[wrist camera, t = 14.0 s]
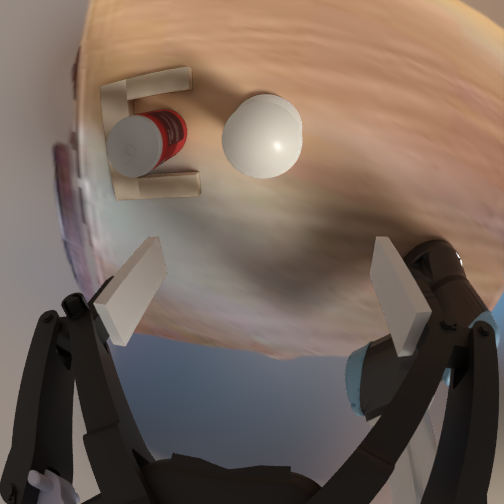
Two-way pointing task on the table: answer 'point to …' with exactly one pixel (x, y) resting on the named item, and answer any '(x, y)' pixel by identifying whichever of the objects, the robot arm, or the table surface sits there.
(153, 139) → the canned food
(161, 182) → the notched board
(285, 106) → the bobbin
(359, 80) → the table surface
